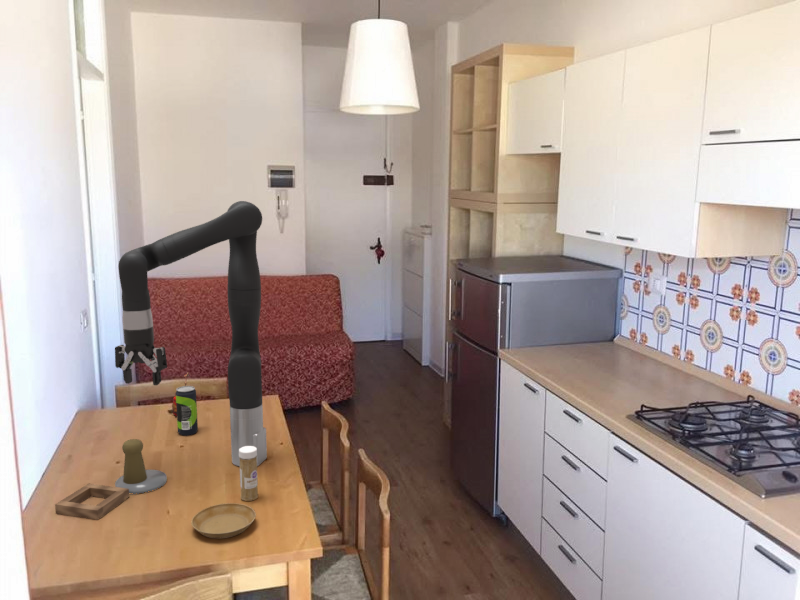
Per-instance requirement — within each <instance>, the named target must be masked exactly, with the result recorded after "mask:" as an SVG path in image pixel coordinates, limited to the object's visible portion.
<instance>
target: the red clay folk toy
mask: <svg viewBox="0 0 800 600" xmlns="http://www.w3.org/2000/svg"><path fill="white" fill-rule="evenodd" d="M189 373H190V372H189V371H188V372H187V373H186V374H184V375H183V377H184V378H185V381H184V386H187V379H188V377H189V376H190V374H189ZM172 400H173V401H172V405H171V407H172V408H171V410H172V415H174V417H176V418H177V408H176V392H175V394H174V397H173V399H172Z"/></svg>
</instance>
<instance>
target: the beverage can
mask: <svg viewBox="0 0 800 600" xmlns="http://www.w3.org/2000/svg"><path fill="white" fill-rule="evenodd" d="M175 390H176V392H175V393H176V408H177V417H176V424H177V425H176V426H177V433H178V434H179V435H180V436H186V437H187V436H193V435H195V434H196V433H197V432H198V429H199V428H198V426H199V425H198V407H197V390H196V387H195V386H193V385H186V386H185V385H183V386H178V387H176V389H175Z"/></svg>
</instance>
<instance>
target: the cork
mask: <svg viewBox="0 0 800 600" xmlns="http://www.w3.org/2000/svg"><path fill="white" fill-rule="evenodd" d="M121 449H122V453H124V464H123V465H124V466H123V475H124V476H123V475H122V476H123V482H124V483H126V484H137V483H140V482H143V481H145V480H146V479H147V475H146V470H147V469H146V466H145V462H144V458H143V454H142V453H143V449H144V443H143V442H142V440H140V439H138V438H133V439H128V440H126V441H124V442H123V443H122V448H121Z"/></svg>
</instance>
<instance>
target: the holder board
mask: <svg viewBox="0 0 800 600" xmlns="http://www.w3.org/2000/svg"><path fill="white" fill-rule="evenodd" d="M93 496H94V497H95V498H100V497H102V498H101V499H103V500H102V501H100V502H98V503H97V504H96V505H94V504H87V503H83V502H84V501H86V500H87V499H90V497H93ZM103 497H104V498H103ZM128 497H129V498H130V494H129V489H127V488H120V487H115V486H112V485H111V486H109V485H106V484H105V485H103V484H95V483H89V482H88V483H87V484H86V485H84V486H83V487H81V488H79V489H77V490H75V491H74V492H72V493H71V494H69V495H68V496H66V497H65V498H63V499H62V500H59V501H58V502H56V503H55V504H54V507H55V514H57V515H65V516H71V517H76V518H77V517H78V518H85V519H90V520H97V521H99V520H100V519H101V518H102V517H104V516H106V515H107V514H109V512H111V511H112V510H114V509H115V508H117V507H118V506H120V503H121V502H122V503H123V502H125V501H126V500H127V499H126V498H128ZM129 498H128V499H129ZM125 499H126V500H125ZM124 500H125V501H124ZM122 503H121V504H122ZM117 505H118V506H117ZM114 507H115V508H114ZM113 508H114V509H113Z"/></svg>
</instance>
